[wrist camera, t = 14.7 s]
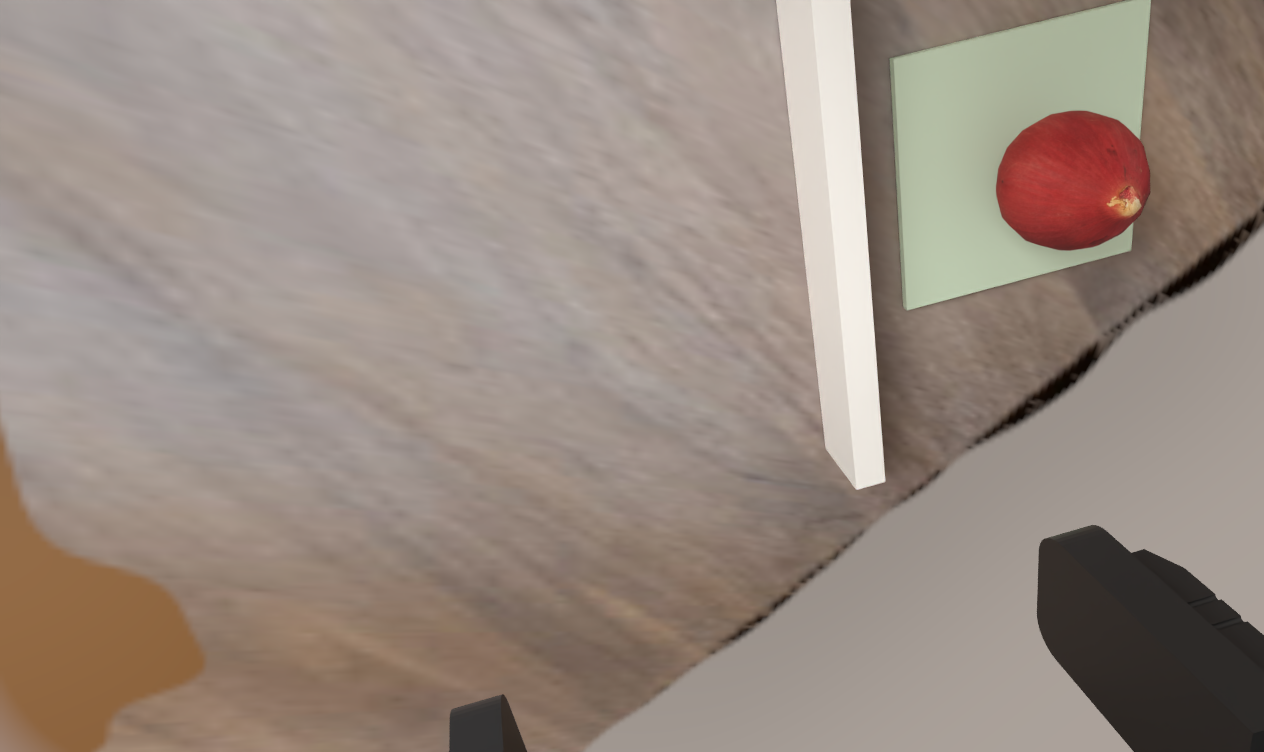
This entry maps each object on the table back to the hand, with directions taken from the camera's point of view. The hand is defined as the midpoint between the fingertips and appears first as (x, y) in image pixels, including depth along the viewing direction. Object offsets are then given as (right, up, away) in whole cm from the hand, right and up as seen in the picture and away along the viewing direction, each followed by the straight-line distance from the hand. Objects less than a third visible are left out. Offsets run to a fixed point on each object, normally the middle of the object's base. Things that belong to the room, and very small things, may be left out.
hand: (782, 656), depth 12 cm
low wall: (+6, +12, +27) cm, 30 cm away
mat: (+16, +14, +28) cm, 35 cm away
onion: (+16, +14, +28) cm, 35 cm away
